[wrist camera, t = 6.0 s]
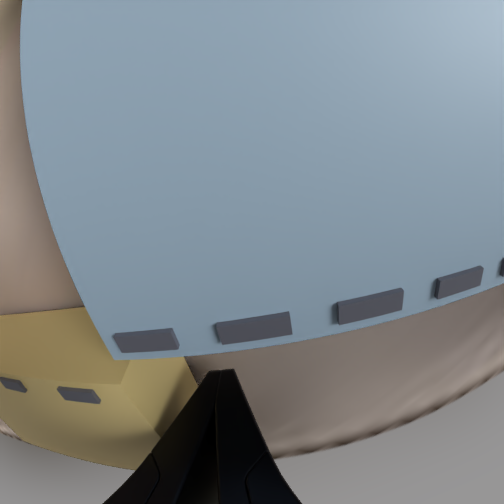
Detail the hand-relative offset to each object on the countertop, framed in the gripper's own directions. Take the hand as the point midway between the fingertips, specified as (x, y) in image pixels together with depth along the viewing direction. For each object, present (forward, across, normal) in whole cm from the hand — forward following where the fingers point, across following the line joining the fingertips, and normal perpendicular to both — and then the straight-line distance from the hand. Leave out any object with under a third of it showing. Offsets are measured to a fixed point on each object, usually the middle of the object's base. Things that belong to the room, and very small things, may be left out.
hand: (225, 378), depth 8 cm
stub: (+1, +6, 0) cm, 6 cm away
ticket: (+1, -4, -10) cm, 11 cm away
